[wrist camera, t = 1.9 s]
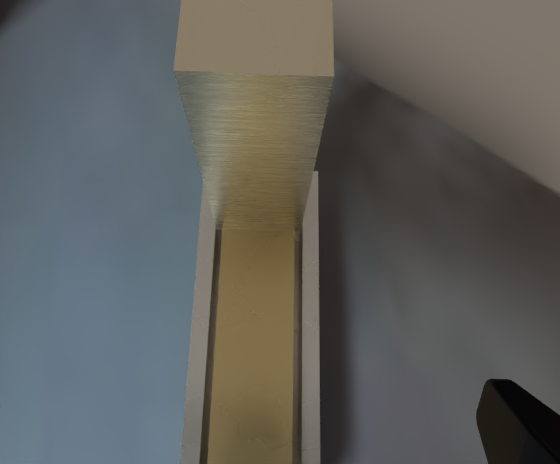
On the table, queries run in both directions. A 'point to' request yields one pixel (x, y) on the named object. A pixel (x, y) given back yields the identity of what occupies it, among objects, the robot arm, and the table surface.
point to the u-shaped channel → (303, 338)
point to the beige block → (255, 196)
